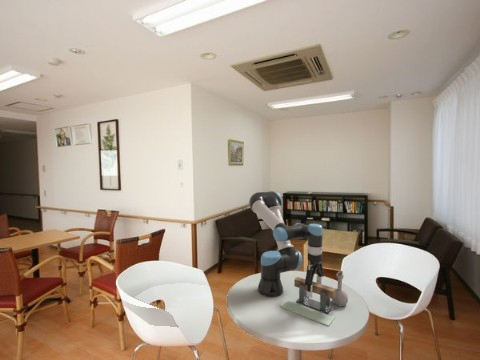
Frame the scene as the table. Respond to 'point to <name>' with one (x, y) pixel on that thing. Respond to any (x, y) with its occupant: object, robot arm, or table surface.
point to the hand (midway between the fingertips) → (314, 292)
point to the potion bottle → (340, 292)
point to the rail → (317, 287)
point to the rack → (320, 306)
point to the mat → (308, 312)
